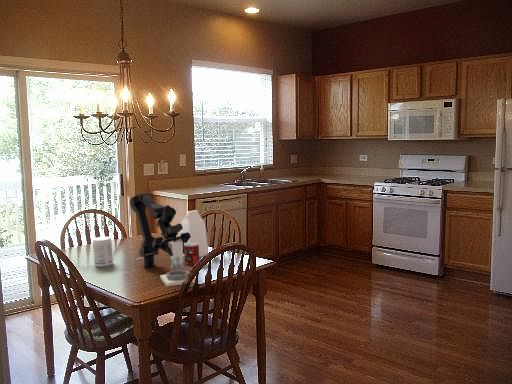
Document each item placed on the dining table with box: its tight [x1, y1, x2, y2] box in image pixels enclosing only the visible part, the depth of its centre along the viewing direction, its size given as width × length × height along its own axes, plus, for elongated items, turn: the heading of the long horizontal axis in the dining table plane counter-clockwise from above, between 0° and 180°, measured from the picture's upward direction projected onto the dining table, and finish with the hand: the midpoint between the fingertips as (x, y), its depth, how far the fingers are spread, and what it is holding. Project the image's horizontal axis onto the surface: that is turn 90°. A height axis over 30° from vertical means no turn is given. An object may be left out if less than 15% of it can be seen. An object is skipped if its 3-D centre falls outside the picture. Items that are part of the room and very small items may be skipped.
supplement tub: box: [92, 236, 114, 268], centre depth 254 cm, size 10×10×15 cm
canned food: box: [183, 242, 200, 266], centre depth 254 cm, size 8×8×11 cm
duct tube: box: [169, 240, 184, 270], centre depth 224 cm, size 6×6×13 cm
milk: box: [179, 209, 209, 258], centre depth 270 cm, size 12×12×26 cm
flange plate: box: [159, 269, 195, 287], centre depth 226 cm, size 14×14×4 cm
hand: (177, 254), depth 223 cm, fingers closed on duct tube, 6 cm apart
